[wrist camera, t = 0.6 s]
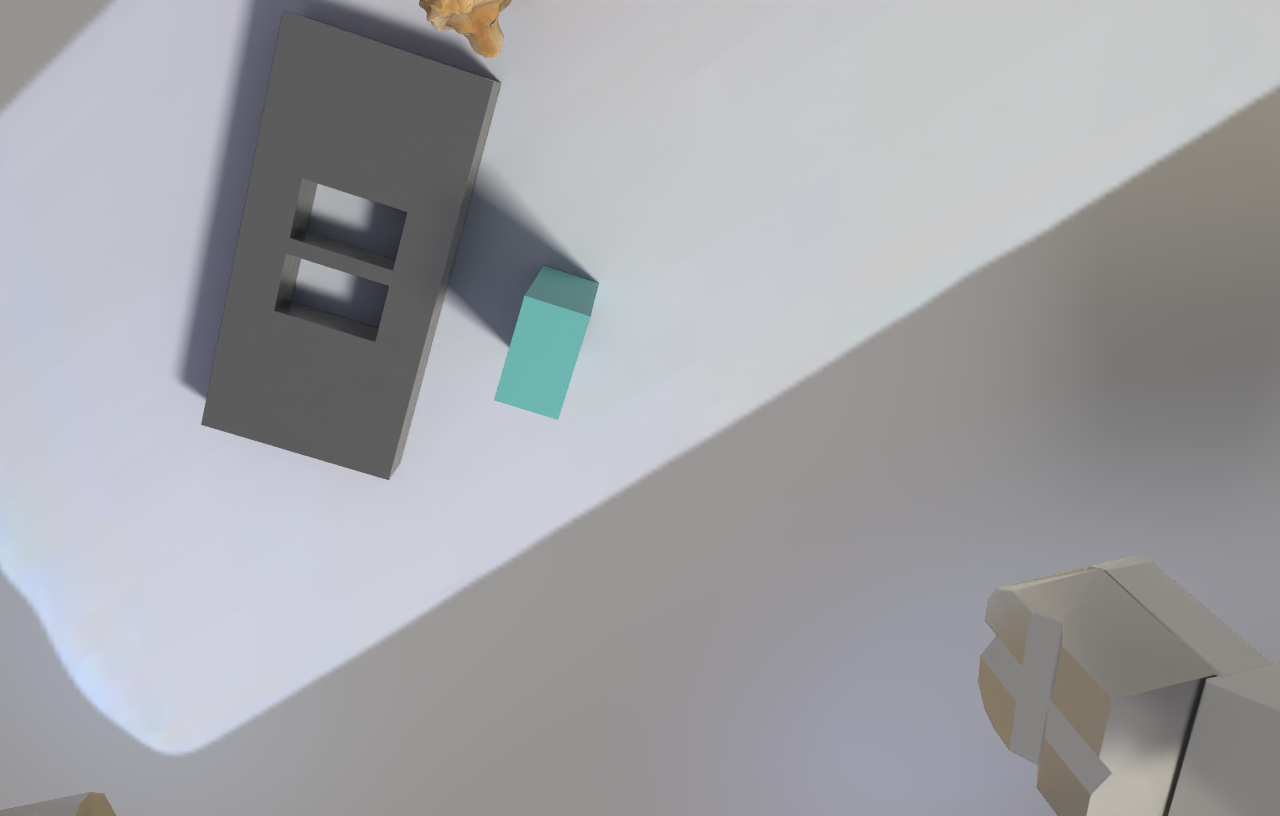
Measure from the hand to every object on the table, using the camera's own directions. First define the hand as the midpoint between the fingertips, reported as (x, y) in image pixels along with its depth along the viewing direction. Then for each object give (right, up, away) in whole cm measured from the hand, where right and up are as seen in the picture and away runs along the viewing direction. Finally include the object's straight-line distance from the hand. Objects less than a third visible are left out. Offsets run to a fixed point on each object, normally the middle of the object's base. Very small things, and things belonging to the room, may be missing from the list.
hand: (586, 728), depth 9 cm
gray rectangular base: (-14, +11, +41) cm, 45 cm away
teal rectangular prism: (-4, +8, +42) cm, 43 cm away
